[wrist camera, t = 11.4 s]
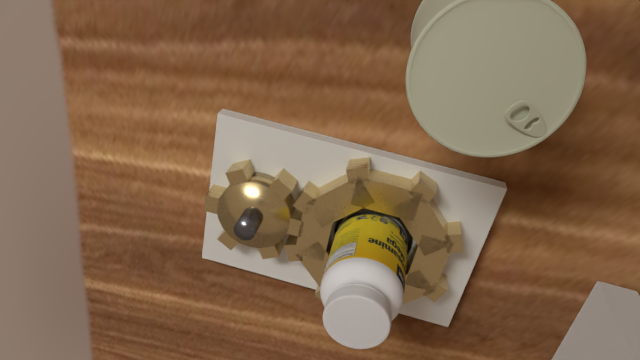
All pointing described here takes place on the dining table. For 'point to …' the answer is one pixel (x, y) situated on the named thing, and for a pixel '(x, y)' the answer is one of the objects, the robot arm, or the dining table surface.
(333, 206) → the gear
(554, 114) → the can
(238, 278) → the dining table surface
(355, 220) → the pill bottle
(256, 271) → the gear board
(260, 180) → the gear
